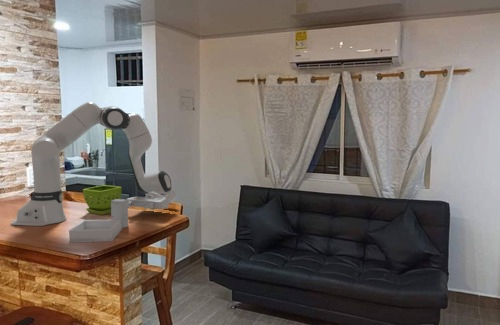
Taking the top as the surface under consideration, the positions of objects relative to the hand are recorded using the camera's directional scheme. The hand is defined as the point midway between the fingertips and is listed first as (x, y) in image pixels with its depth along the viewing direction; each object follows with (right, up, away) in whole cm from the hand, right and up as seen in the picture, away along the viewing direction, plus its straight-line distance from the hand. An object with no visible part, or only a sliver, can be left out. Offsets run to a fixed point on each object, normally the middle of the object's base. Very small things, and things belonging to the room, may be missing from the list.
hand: (136, 206), depth 187 cm
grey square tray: (-9, -10, -24) cm, 27 cm away
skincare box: (-4, -8, -10) cm, 14 cm away
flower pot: (-22, -5, +16) cm, 27 cm away
